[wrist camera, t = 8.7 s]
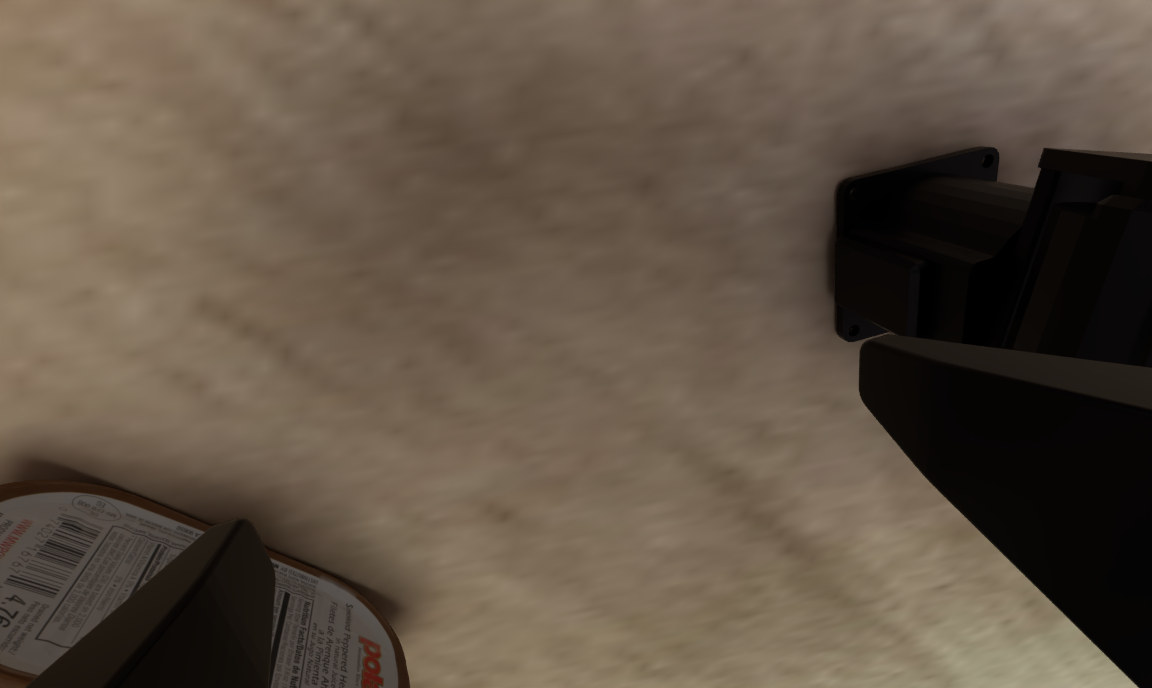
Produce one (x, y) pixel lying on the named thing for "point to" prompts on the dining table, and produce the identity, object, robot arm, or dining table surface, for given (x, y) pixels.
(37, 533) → the tin
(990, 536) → the robot arm
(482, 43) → the dining table surface
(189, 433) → the dining table surface
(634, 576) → the dining table surface
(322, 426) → the dining table surface
